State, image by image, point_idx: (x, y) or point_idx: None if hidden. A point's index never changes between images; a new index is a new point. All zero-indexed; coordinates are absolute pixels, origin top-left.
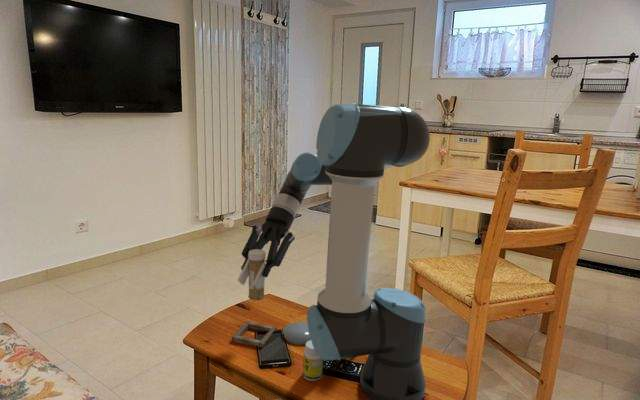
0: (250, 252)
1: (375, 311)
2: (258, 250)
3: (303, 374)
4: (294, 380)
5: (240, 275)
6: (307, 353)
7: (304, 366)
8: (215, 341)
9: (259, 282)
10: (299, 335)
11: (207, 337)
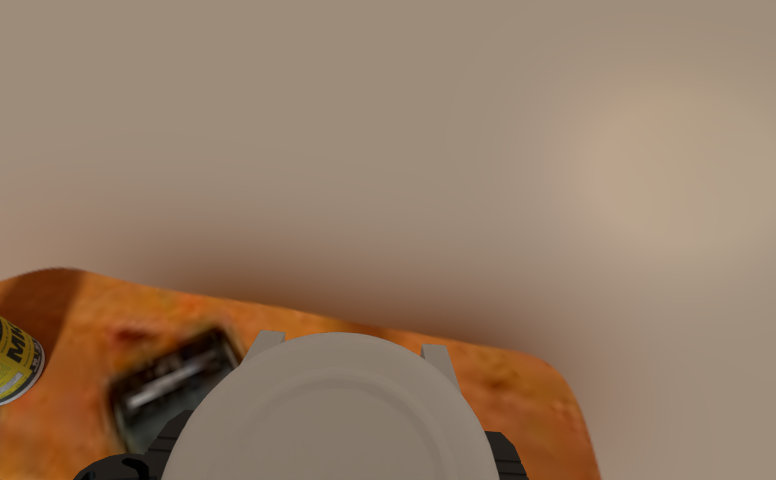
0: (414, 374)
1: None
2: None
3: (36, 341)
4: (75, 317)
5: (444, 367)
6: None
7: (12, 324)
8: (467, 399)
9: None
10: None
11: (515, 409)
